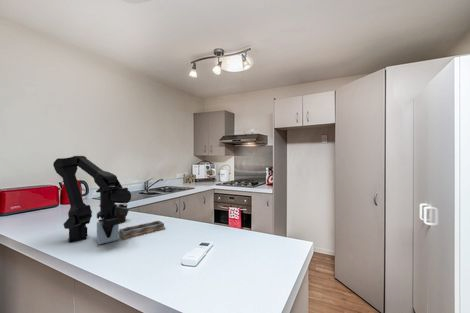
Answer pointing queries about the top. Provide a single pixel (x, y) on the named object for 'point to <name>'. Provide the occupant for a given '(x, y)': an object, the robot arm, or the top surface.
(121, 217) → the coffee mug
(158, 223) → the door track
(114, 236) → the grey flat block
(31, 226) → the top surface
